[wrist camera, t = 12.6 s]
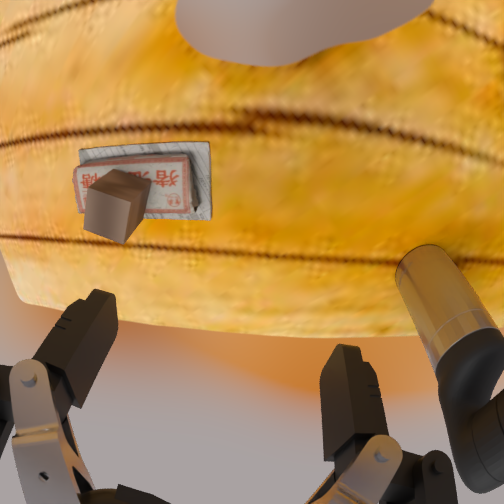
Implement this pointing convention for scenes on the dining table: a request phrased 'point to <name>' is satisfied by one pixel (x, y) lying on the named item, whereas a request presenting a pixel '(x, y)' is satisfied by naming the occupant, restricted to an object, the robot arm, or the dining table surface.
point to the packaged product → (155, 176)
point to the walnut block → (116, 205)
